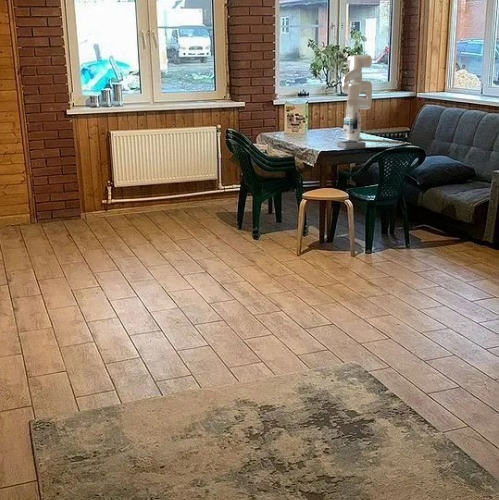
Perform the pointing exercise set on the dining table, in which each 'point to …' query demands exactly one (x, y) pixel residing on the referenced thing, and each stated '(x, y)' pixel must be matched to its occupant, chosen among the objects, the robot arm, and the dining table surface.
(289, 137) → the dining table surface
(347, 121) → the light bulb box
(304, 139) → the dining table surface
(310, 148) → the dining table surface
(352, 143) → the sorting tray
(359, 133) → the robot arm
